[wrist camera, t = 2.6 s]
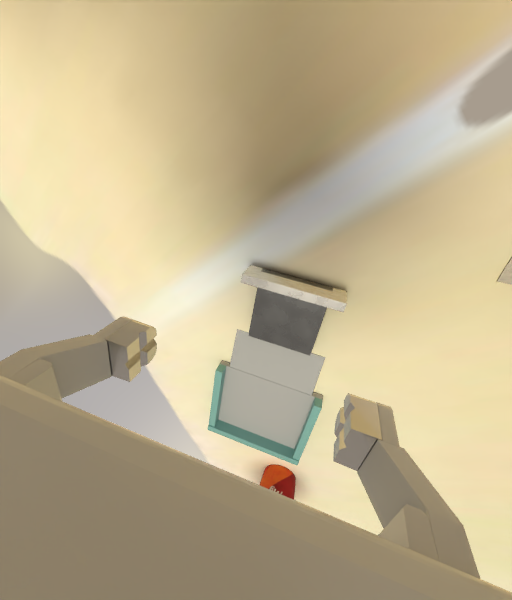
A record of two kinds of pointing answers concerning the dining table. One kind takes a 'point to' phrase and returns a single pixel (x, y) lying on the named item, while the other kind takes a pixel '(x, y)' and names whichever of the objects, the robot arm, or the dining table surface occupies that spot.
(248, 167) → the dining table surface
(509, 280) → the condiment
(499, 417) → the dining table surface
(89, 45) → the dining table surface
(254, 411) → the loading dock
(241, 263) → the dining table surface
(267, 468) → the paper cup
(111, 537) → the robot arm
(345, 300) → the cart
